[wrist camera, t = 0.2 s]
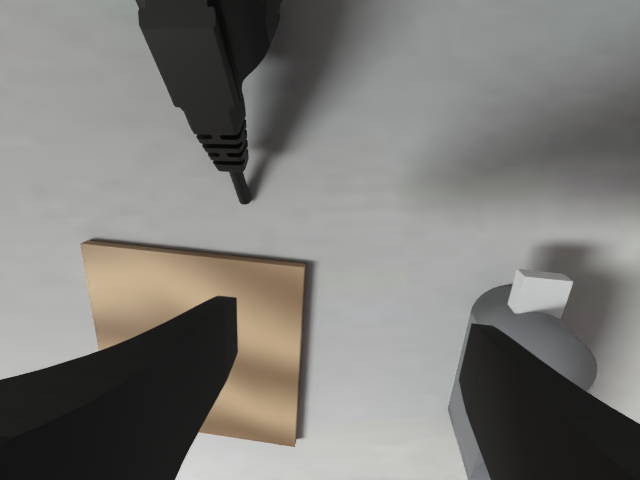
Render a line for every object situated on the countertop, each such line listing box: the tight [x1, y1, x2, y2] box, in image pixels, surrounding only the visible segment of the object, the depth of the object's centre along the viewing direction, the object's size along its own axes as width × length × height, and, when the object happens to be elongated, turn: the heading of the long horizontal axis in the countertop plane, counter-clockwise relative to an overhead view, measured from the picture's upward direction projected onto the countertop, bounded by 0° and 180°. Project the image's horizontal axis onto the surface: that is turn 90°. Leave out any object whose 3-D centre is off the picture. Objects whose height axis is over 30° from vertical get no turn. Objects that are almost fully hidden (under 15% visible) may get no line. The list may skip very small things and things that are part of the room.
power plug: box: [136, 0, 282, 204], centre depth 17 cm, size 6×8×12 cm
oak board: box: [81, 241, 306, 447], centre depth 24 cm, size 14×14×1 cm
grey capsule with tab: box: [448, 269, 597, 480], centre depth 19 cm, size 13×4×5 cm, turn 176°
